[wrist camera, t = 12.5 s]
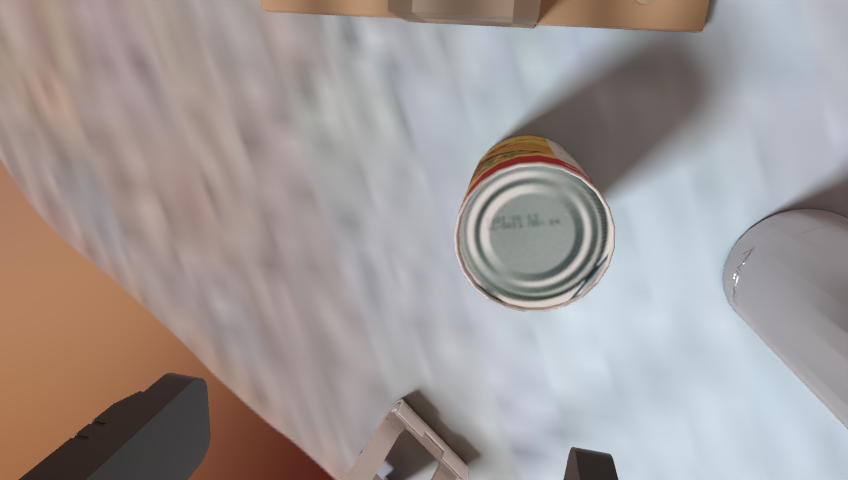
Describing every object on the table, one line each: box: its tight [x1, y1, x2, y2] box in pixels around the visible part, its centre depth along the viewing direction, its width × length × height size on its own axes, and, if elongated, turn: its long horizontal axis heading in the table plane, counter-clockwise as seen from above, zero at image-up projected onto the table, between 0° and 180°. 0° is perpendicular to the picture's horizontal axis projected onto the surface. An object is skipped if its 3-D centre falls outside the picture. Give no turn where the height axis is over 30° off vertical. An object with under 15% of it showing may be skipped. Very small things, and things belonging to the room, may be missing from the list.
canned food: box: [454, 135, 615, 312], centre depth 30 cm, size 8×8×12 cm
